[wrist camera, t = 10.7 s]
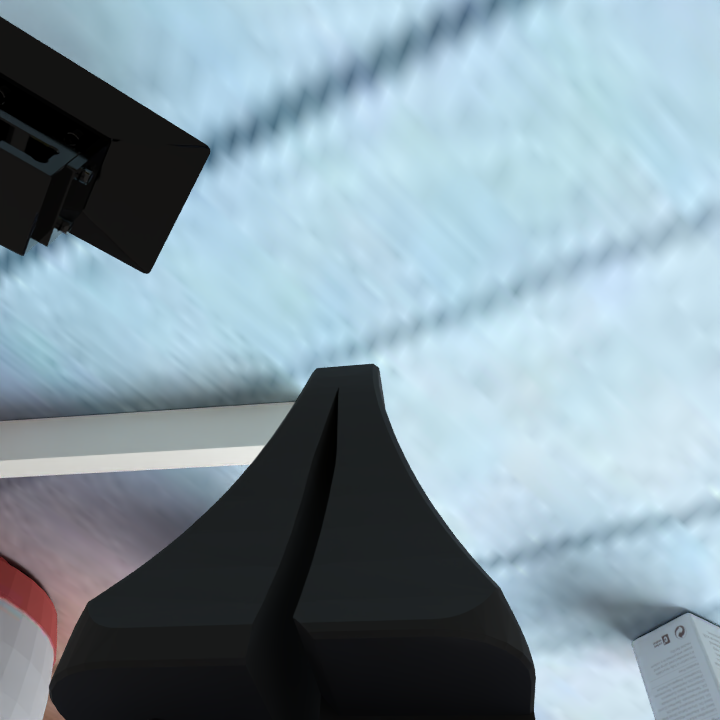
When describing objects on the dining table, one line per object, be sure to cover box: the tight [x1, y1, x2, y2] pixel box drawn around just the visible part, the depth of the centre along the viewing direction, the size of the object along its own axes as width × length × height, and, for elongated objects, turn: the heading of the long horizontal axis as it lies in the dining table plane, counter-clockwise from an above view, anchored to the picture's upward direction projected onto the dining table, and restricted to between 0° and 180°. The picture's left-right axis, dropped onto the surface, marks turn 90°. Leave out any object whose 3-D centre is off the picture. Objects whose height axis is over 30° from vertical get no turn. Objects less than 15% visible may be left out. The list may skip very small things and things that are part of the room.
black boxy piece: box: [0, 17, 210, 274], centre depth 18 cm, size 12×7×5 cm, turn 57°
